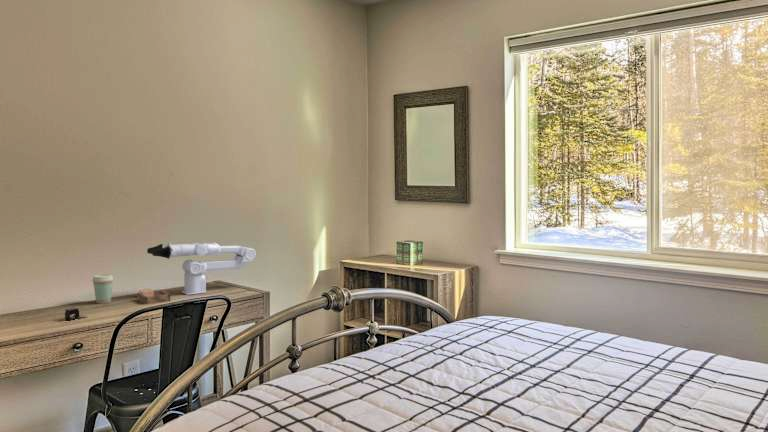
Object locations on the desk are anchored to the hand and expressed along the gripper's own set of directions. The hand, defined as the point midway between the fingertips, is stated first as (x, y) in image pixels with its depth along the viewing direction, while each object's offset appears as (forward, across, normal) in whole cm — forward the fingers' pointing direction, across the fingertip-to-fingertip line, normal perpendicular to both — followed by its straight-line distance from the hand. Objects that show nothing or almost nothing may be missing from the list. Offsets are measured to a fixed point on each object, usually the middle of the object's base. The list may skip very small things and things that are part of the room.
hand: (150, 252), depth 274 cm
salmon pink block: (0, -4, +22) cm, 22 cm away
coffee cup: (+19, -3, +22) cm, 29 cm away
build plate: (+36, +21, +23) cm, 47 cm away
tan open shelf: (0, +6, +21) cm, 22 cm away
